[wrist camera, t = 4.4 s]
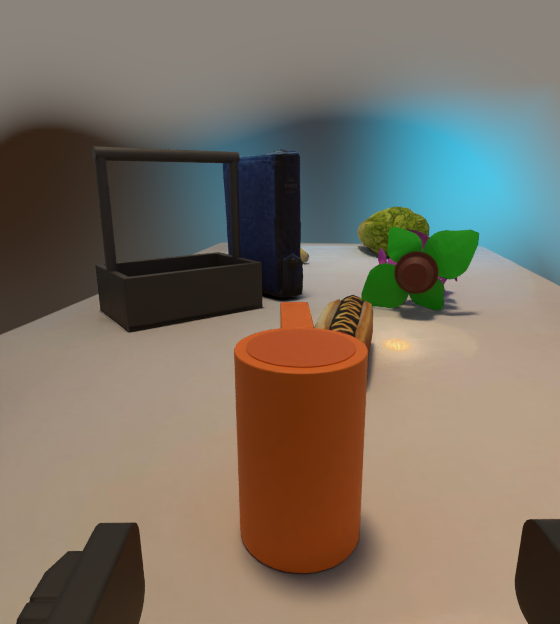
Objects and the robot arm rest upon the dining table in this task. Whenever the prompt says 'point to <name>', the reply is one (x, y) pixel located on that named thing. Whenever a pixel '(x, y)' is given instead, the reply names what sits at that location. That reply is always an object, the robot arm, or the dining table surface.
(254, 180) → the book
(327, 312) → the hot dog
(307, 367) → the measuring cup
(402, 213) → the lettuce
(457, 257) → the potted plant
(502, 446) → the dining table surface
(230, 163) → the basket
